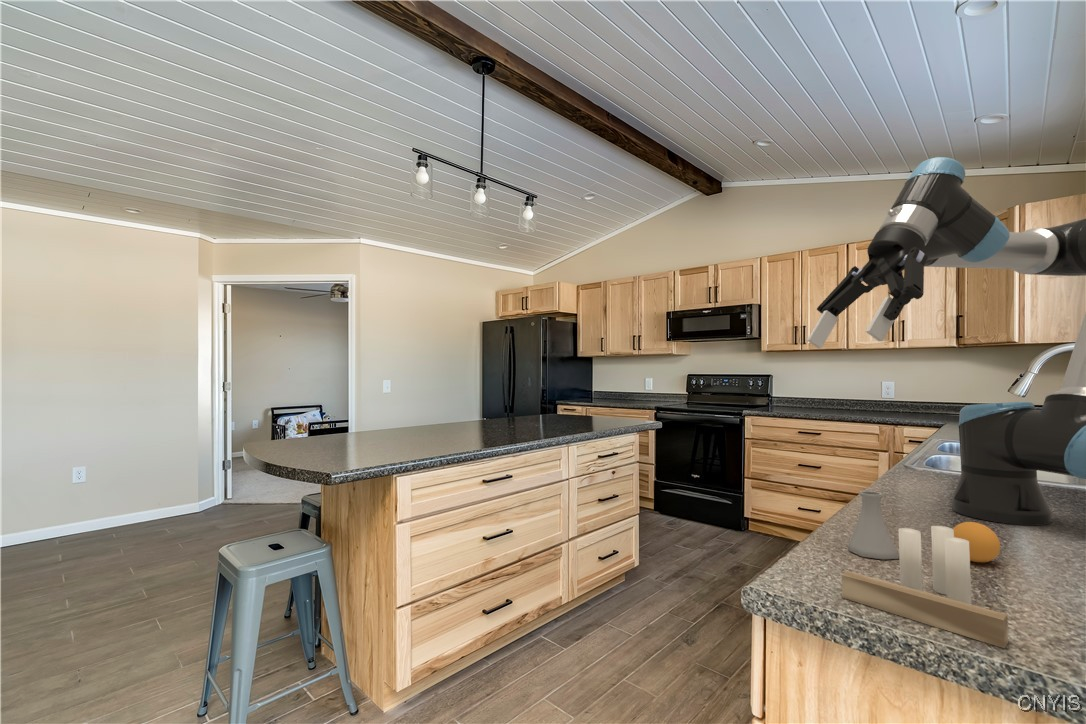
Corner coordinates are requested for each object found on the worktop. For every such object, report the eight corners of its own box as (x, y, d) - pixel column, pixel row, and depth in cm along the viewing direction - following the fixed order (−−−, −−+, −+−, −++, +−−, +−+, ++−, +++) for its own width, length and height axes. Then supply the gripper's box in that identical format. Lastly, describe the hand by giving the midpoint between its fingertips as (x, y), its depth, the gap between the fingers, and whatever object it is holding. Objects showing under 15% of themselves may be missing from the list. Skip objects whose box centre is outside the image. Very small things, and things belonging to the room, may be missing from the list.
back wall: (848, 593, 67) (847, 571, 67) (1008, 642, 55) (1007, 614, 55) (842, 597, 66) (841, 574, 66) (1004, 648, 53) (1003, 620, 54)
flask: (908, 562, 78) (906, 498, 78) (857, 559, 79) (855, 497, 80) (886, 547, 85) (884, 488, 85) (840, 544, 87) (838, 487, 87)
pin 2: (949, 601, 64) (947, 535, 65) (973, 608, 63) (971, 540, 63) (944, 607, 63) (942, 539, 63) (969, 614, 61) (966, 544, 61)
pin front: (936, 586, 69) (934, 524, 69) (958, 591, 67) (955, 528, 68) (931, 590, 68) (928, 528, 68) (953, 596, 66) (950, 532, 66)
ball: (956, 551, 82) (954, 515, 82) (1005, 562, 78) (1003, 523, 78) (945, 560, 79) (944, 522, 79) (996, 571, 74) (994, 531, 74)
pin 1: (904, 589, 68) (901, 526, 69) (925, 595, 66) (923, 531, 67) (898, 594, 67) (895, 530, 67) (919, 600, 65) (917, 534, 65)
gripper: (832, 246, 97) (778, 335, 95) (953, 198, 72) (885, 317, 70) (861, 269, 98) (809, 357, 95) (992, 228, 73) (926, 347, 71)
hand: (841, 340), depth 83 cm, fingers open, 13 cm apart
